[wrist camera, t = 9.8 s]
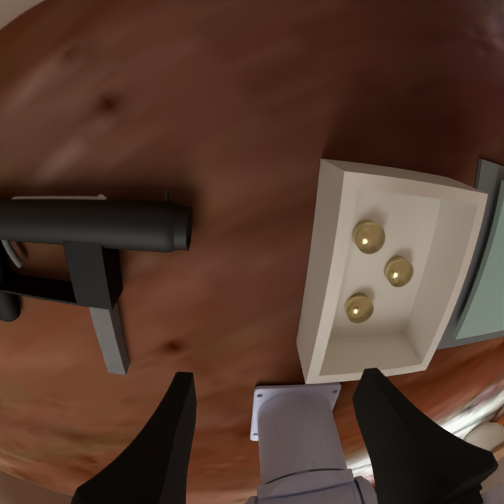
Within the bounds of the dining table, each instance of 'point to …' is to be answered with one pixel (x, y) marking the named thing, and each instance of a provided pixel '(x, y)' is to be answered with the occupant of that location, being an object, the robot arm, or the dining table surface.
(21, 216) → the black toy gun
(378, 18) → the dining table surface
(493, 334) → the mat
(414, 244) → the tub
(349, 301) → the set of gold balls
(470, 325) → the lid
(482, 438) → the lidded jar
